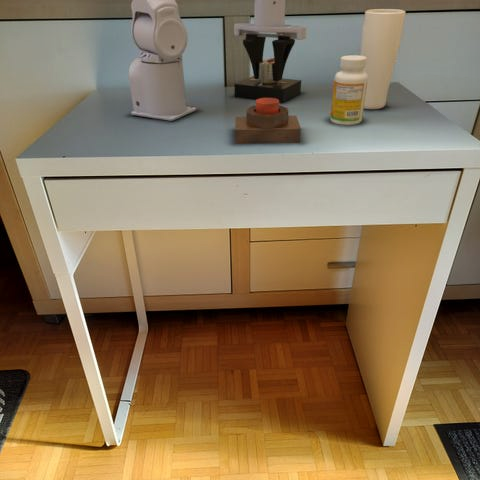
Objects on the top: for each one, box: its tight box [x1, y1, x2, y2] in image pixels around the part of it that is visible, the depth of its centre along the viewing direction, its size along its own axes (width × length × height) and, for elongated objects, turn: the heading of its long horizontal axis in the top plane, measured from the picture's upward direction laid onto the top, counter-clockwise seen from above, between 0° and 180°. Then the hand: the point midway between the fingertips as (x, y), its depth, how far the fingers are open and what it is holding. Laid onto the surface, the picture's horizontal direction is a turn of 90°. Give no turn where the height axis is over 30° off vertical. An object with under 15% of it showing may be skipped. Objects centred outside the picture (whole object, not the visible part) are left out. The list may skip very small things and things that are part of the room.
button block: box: [234, 104, 302, 145], centre depth 72 cm, size 10×7×4 cm
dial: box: [258, 57, 278, 84], centre depth 91 cm, size 4×4×4 cm
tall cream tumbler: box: [359, 8, 407, 110], centre depth 81 cm, size 7×7×15 cm
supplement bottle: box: [330, 54, 368, 126], centre depth 76 cm, size 5×5×10 cm
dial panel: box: [234, 75, 302, 104], centre depth 93 cm, size 11×8×3 cm
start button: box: [255, 98, 280, 114], centre depth 70 cm, size 4×4×2 cm
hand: (268, 79), depth 92 cm, fingers closed on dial, 4 cm apart
